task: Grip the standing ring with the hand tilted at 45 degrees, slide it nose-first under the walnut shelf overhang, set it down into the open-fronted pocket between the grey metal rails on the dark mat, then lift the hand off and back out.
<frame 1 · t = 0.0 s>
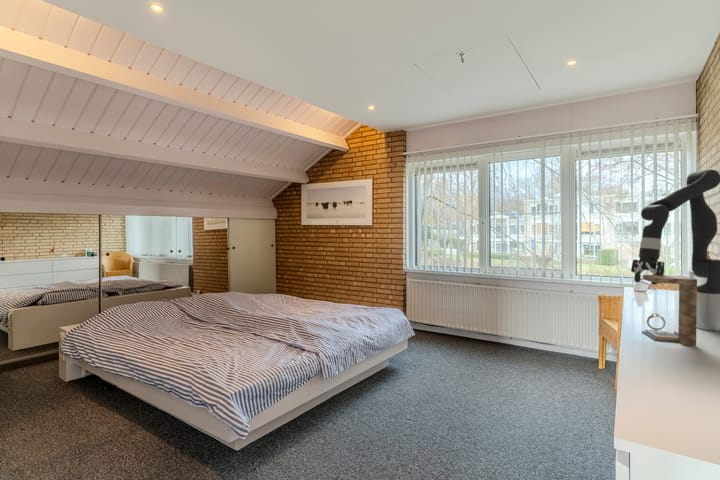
hand: (645, 283, 179), 23 cm above the table, tool pointing down, fingers open, 8 cm apart
shelf: (667, 340, 166), on the table
ring: (656, 330, 183), on the table
seat: (666, 337, 170), on the table
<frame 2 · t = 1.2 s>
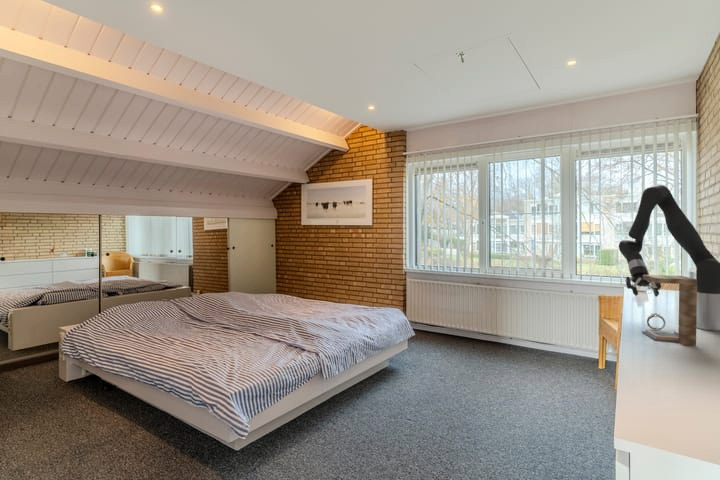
hand: (646, 295, 194), 15 cm above the table, tool tilted 45°, fingers open, 8 cm apart
nothing on the table moved.
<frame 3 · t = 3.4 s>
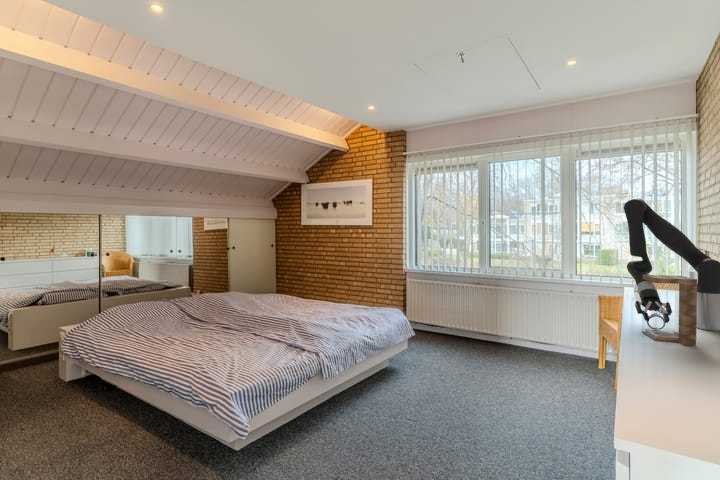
hand: (657, 321, 181), 5 cm above the table, tool tilted 45°, fingers closed on ring, 7 cm apart
ring: (655, 330, 183), on the table, touching gripper
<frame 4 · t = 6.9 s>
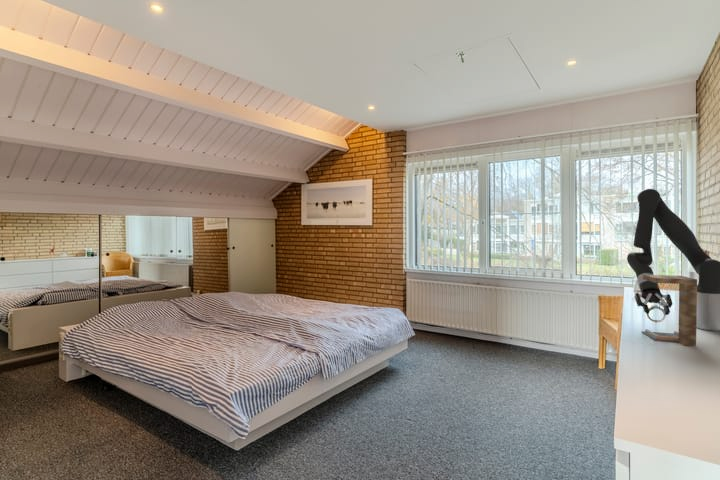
hand: (657, 313, 179), 9 cm above the table, tool tilted 45°, fingers closed on ring, 7 cm apart
ring: (656, 322, 180), point 4 cm above the table, touching gripper
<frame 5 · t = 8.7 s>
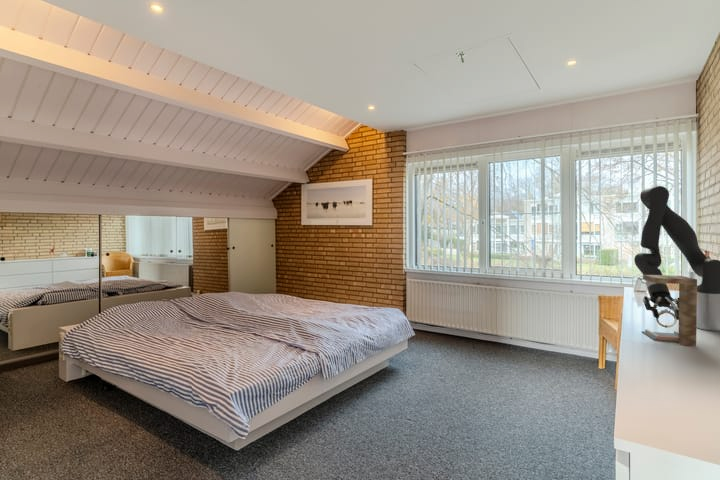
hand: (668, 318, 169), 9 cm above the table, tool tilted 45°, fingers closed on ring, 7 cm apart
ring: (666, 328, 170), point 4 cm above the table, touching gripper
when the fingers open (6 cm above the table, at t = 10.3 s): ring stays where it is, resting on seat.
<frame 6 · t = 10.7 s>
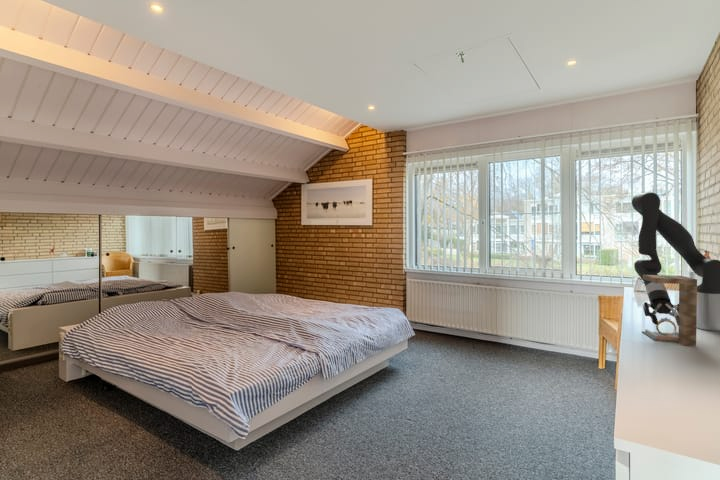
hand: (668, 324, 169), 6 cm above the table, tool tilted 45°, fingers open, 8 cm apart
ring: (666, 336, 170), resting on seat
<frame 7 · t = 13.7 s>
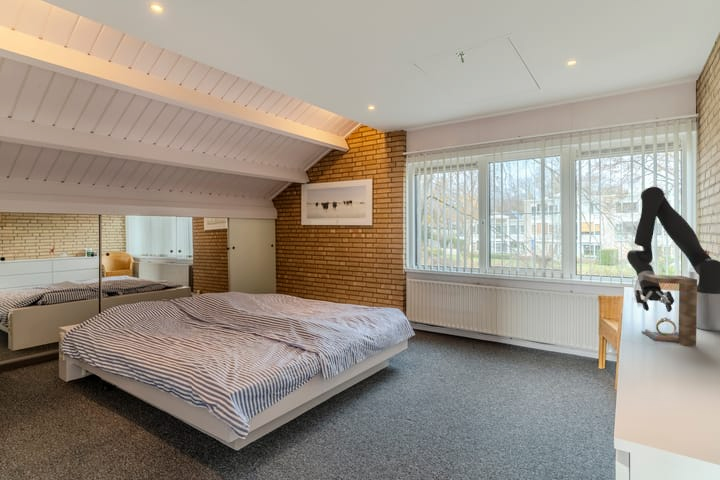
hand: (658, 310, 178), 10 cm above the table, tool tilted 45°, fingers open, 8 cm apart
nothing on the table moved.
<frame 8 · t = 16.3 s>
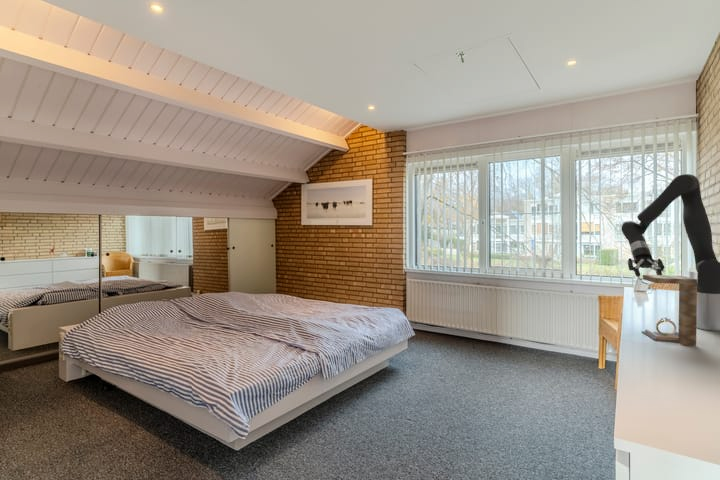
hand: (649, 276, 188), 25 cm above the table, tool tilted 45°, fingers open, 8 cm apart
nothing on the table moved.
at the end: ring inside the target area on the seat (0.3 cm from its centre), point 0.4 cm above the seat's base; ring touching seat; the gripper is holding nothing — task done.
